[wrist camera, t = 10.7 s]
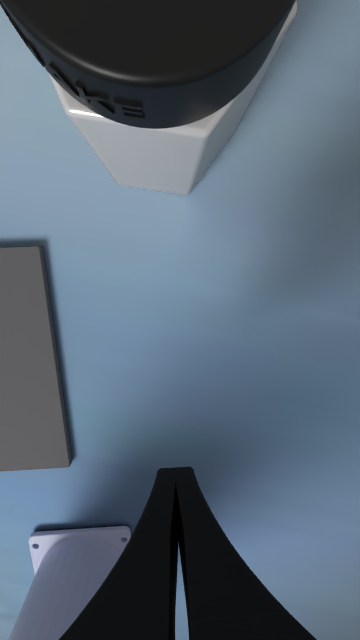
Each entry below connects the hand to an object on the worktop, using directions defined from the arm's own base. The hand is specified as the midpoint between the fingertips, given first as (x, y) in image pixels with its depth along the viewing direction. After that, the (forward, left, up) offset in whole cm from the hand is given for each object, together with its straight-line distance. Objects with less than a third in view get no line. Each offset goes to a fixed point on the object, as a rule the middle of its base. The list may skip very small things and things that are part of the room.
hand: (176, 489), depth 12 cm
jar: (+17, 0, -10) cm, 20 cm away
